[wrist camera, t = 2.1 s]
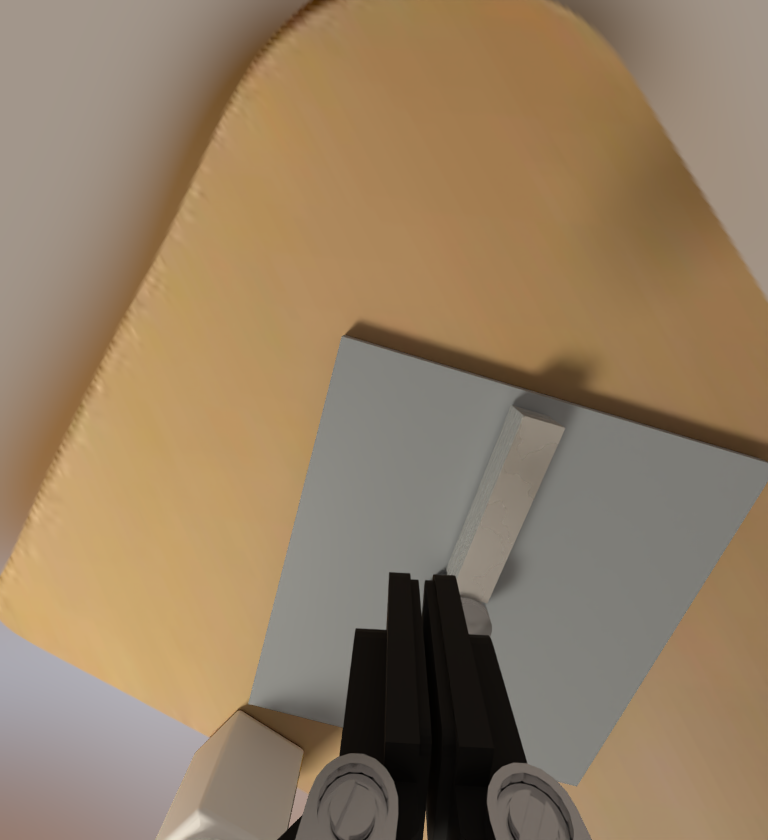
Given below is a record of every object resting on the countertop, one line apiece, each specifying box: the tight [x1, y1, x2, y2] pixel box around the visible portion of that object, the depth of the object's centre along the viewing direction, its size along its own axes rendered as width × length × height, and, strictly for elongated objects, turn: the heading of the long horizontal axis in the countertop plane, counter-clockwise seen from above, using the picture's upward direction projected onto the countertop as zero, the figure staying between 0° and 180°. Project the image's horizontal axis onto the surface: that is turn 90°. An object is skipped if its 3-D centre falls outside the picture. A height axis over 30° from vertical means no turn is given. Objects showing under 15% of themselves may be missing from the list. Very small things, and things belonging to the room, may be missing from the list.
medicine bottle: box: [155, 710, 304, 840], centre depth 29 cm, size 7×7×12 cm
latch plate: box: [248, 335, 768, 786], centre depth 27 cm, size 28×30×4 cm
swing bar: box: [439, 405, 565, 636], centre depth 24 cm, size 16×4×3 cm, turn 164°
